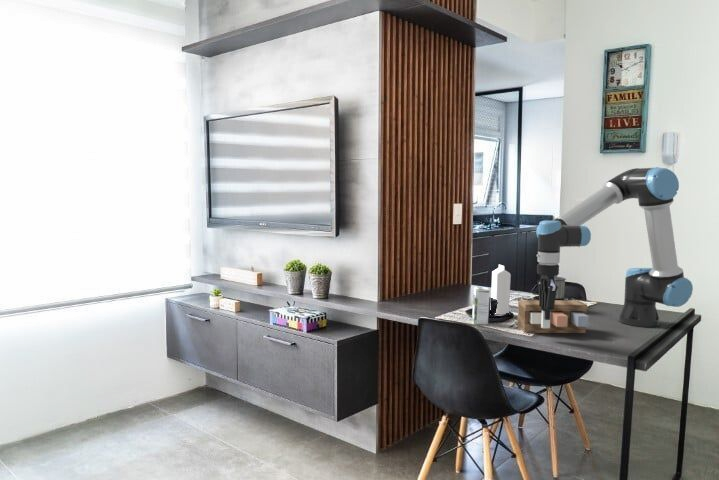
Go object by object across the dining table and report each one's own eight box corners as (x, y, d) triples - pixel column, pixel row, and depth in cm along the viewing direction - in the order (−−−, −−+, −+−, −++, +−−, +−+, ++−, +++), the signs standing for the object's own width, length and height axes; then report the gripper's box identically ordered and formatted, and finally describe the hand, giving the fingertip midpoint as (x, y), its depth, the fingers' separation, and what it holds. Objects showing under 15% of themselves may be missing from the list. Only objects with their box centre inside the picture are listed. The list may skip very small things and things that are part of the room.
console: (576, 327, 221) (577, 300, 220) (585, 332, 213) (587, 304, 212) (517, 327, 219) (518, 300, 218) (524, 332, 212) (525, 304, 210)
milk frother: (568, 311, 248) (570, 279, 247) (536, 313, 245) (538, 280, 243) (550, 305, 262) (551, 274, 261) (520, 306, 258) (521, 274, 257)
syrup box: (471, 321, 229) (472, 286, 227) (486, 321, 228) (487, 286, 227) (474, 324, 223) (475, 289, 222) (488, 324, 223) (490, 289, 221)
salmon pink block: (557, 320, 215) (557, 310, 214) (567, 326, 206) (567, 316, 206) (547, 320, 215) (547, 310, 214) (556, 326, 206) (557, 316, 205)
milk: (503, 313, 243) (505, 264, 241) (508, 317, 237) (511, 266, 235) (489, 314, 242) (492, 264, 240) (495, 317, 236) (497, 266, 234)
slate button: (577, 320, 215) (578, 310, 215) (588, 326, 206) (588, 316, 206) (567, 320, 215) (568, 310, 215) (577, 326, 206) (578, 316, 206)
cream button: (533, 318, 218) (533, 308, 218) (542, 323, 209) (542, 313, 209) (523, 318, 218) (523, 308, 218) (531, 323, 209) (532, 313, 209)
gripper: (531, 261, 205) (529, 323, 208) (544, 266, 192) (542, 332, 195) (551, 261, 206) (548, 323, 208) (566, 266, 193) (562, 332, 195)
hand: (545, 327), depth 202 cm, fingers closed
